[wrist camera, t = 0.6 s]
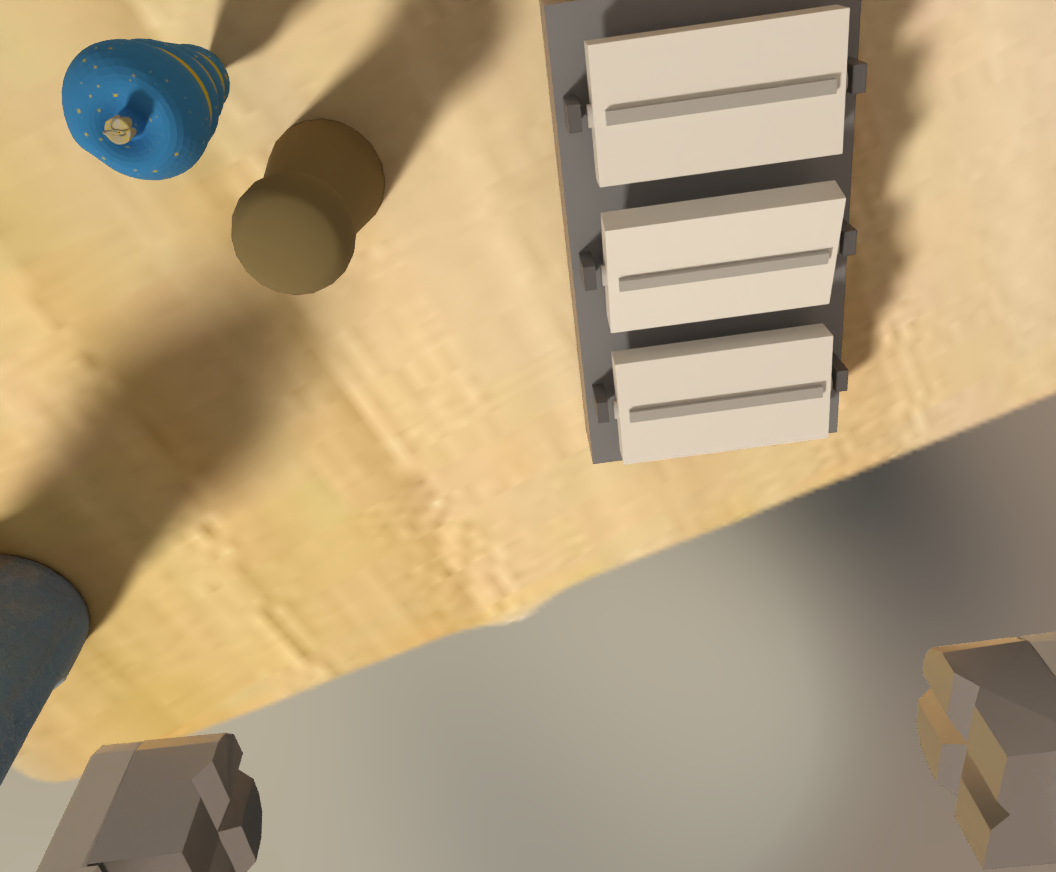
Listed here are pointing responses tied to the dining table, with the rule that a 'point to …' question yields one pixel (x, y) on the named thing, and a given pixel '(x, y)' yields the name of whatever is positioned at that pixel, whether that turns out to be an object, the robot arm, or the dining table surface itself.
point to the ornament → (144, 104)
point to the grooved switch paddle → (723, 393)
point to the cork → (308, 207)
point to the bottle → (33, 645)
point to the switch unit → (669, 192)
